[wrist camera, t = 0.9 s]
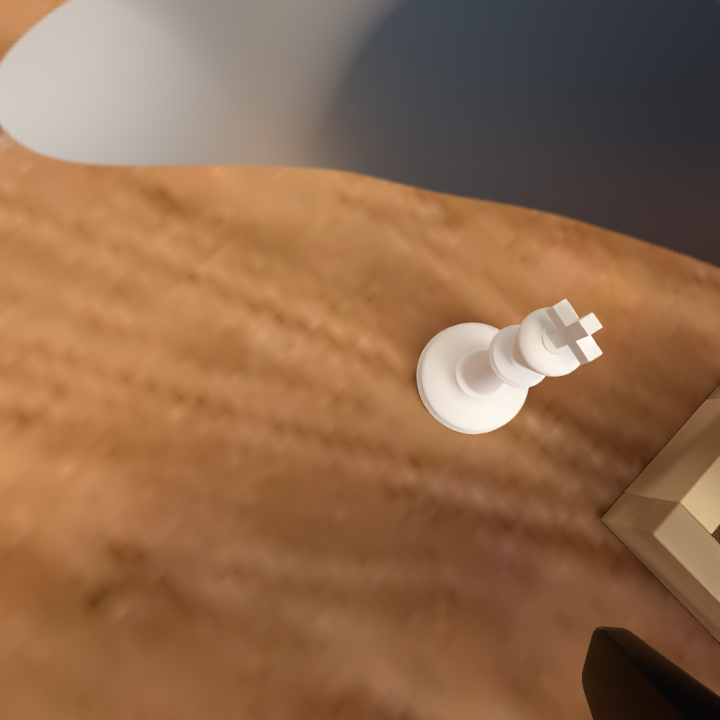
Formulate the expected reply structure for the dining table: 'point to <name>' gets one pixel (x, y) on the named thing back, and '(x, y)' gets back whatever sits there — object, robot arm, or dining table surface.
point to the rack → (679, 515)
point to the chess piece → (500, 365)
